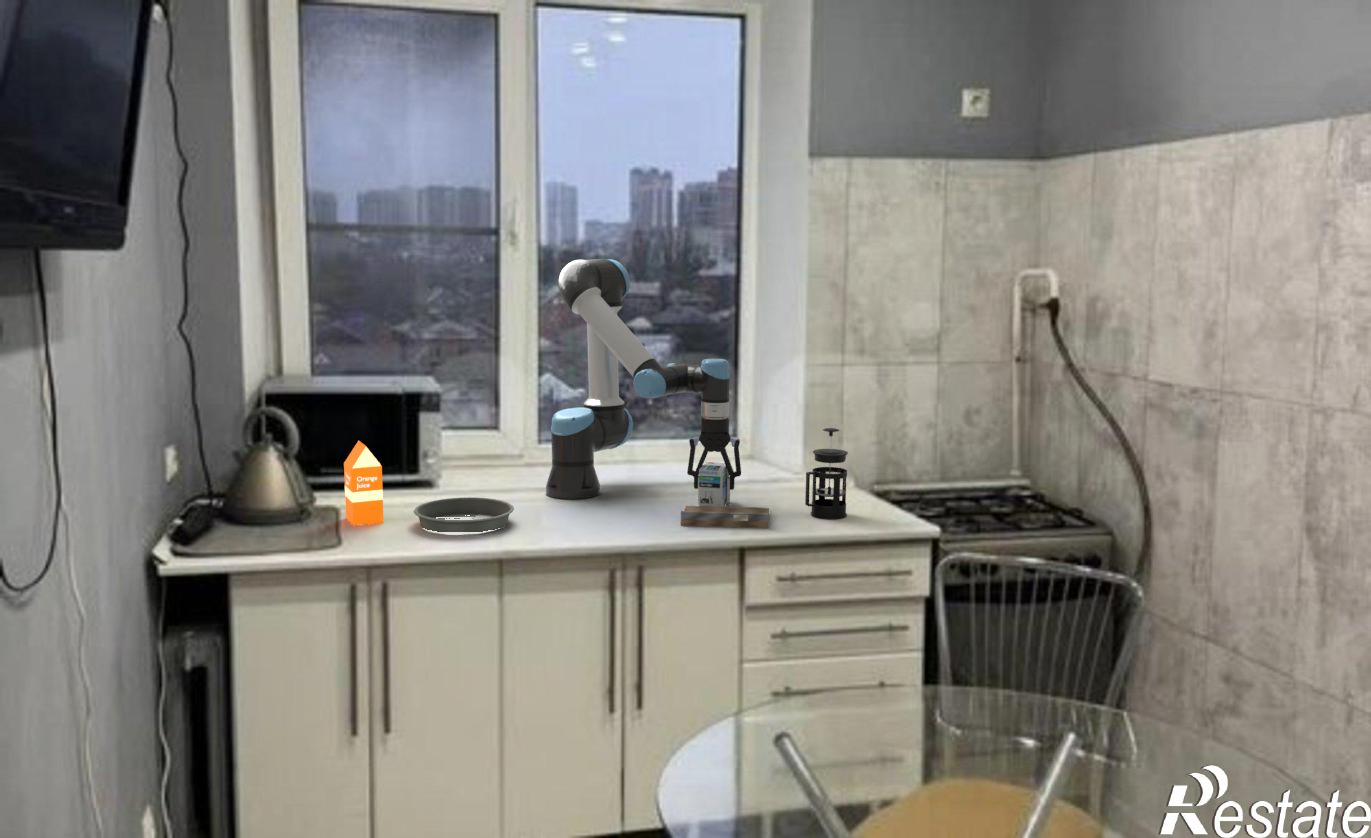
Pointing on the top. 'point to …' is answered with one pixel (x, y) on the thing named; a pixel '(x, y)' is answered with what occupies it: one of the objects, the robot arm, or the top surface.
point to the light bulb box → (713, 484)
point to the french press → (829, 506)
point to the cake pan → (463, 514)
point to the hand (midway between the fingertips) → (713, 500)
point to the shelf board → (725, 516)
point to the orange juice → (363, 487)
